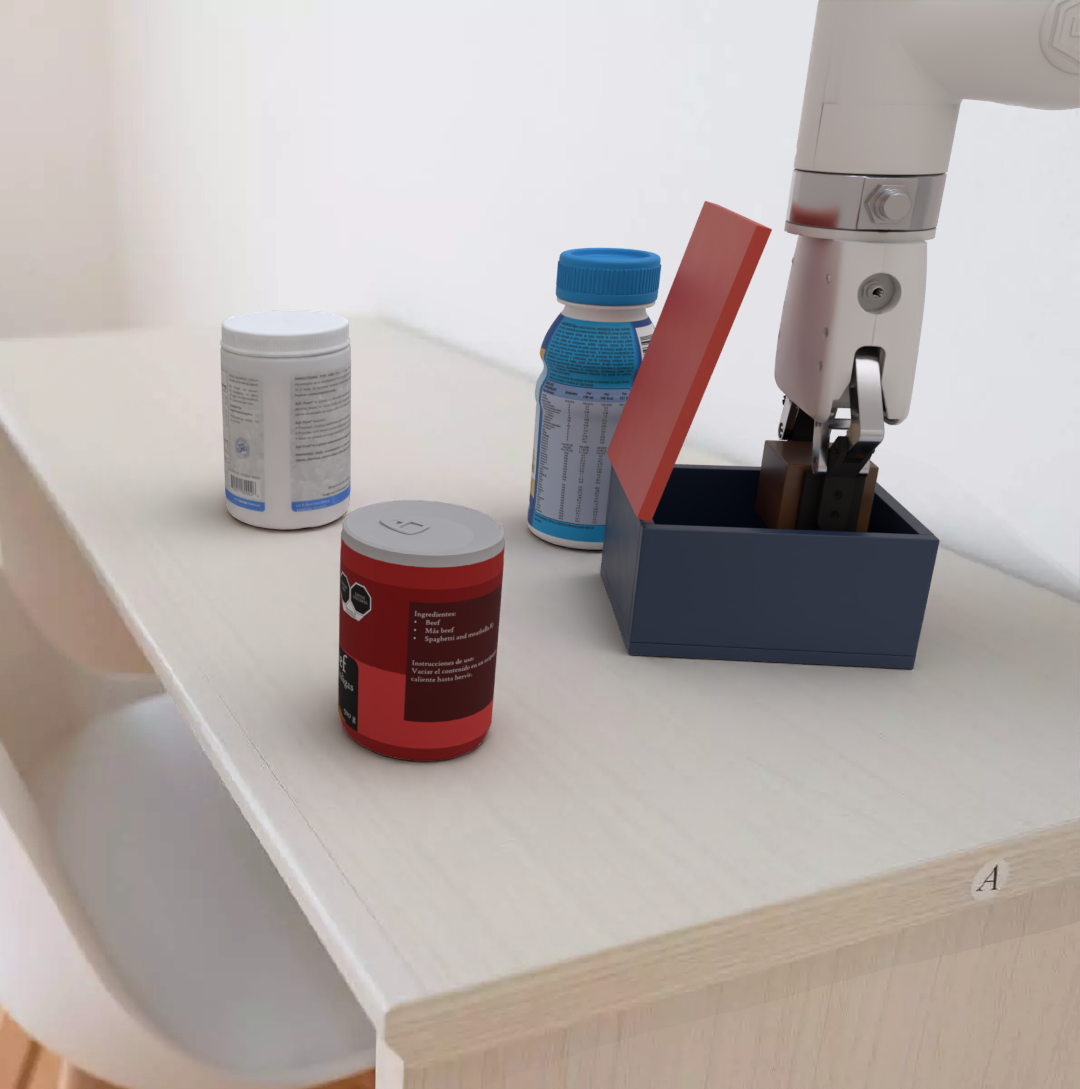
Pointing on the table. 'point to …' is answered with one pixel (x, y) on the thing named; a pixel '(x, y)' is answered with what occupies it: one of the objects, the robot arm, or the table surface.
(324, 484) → the supplement tub
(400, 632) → the canned food
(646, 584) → the storage box
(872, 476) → the block
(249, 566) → the table surface
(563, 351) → the beverage bottle
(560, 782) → the table surface
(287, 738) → the table surface
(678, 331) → the lid
